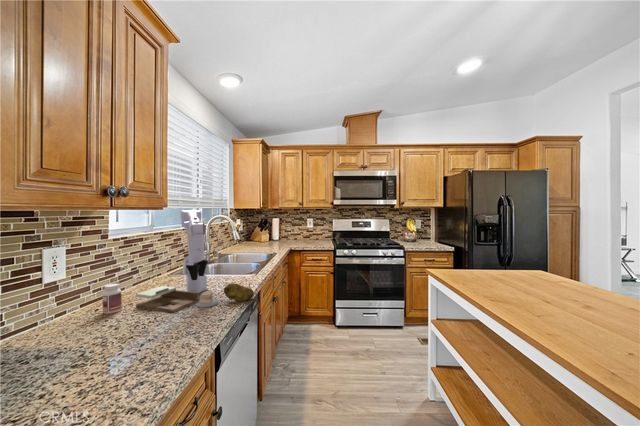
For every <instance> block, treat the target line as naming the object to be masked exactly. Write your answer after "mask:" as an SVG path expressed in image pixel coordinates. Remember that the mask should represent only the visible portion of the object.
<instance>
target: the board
mask: <svg viewBox="0 0 640 426" xmlns="http://www.w3.org/2000/svg"><path fill="white" fill-rule="evenodd" d="M198 301H200V298H198V293H196V292H187V290H177V289H176V290H175V291H172V292H169V293H166V294H163V295H160V296H158V297H155V298H152V299H150V298H149V299H147V300H145V301H142V302H139V303H137V304H135V307H136V308H140V309H147V310H152V311H153V310H155V311H160V312H165V313H166V312H167V313H172V314H173V313H176V312H178V311H180V310H181V311H182V309H185V308H187V307H190V306H192V305H194V304H196V303H197V302H198ZM168 304H170V305H171V306H167V305H168Z"/></svg>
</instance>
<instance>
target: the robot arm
mask: <svg viewBox="0 0 640 426" xmlns="http://www.w3.org/2000/svg"><path fill="white" fill-rule="evenodd" d="M180 220H181V221H180V224H181V227H182V228H183V229H185V231H186V235H187V238H186V239H187V251H188V256H187V257H185V258H184V259H183V262H182V266H183V267H182V269H183V270H182V272H183V275H184V276H186V280H185V281H186V291H187V292H196V293H197V294H199V293H203V292H206V291H207V290H209V288H208V280H207V279H208V278H207V275H206V267H207V265H208V264H209V260H208V259H207V255H205V235H206V225H205V223H204V222H202V211H201V210H200V209H198V210H197V209H194V210H193V209H192V210H191V209H190V210H189V209H188V210H185V209H181V211H180Z"/></svg>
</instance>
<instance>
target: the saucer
mask: <svg viewBox="0 0 640 426" xmlns="http://www.w3.org/2000/svg"><path fill="white" fill-rule="evenodd" d="M212 299H213V300H212V302H211V303H208V304H201V299H199V301H198V302H196V303H195V306H196V307H197V308H199V309H200V308H202V309H205V308H211V307H215V306H217V305H218V303H219V300H218V299H217V298H212Z"/></svg>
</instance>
